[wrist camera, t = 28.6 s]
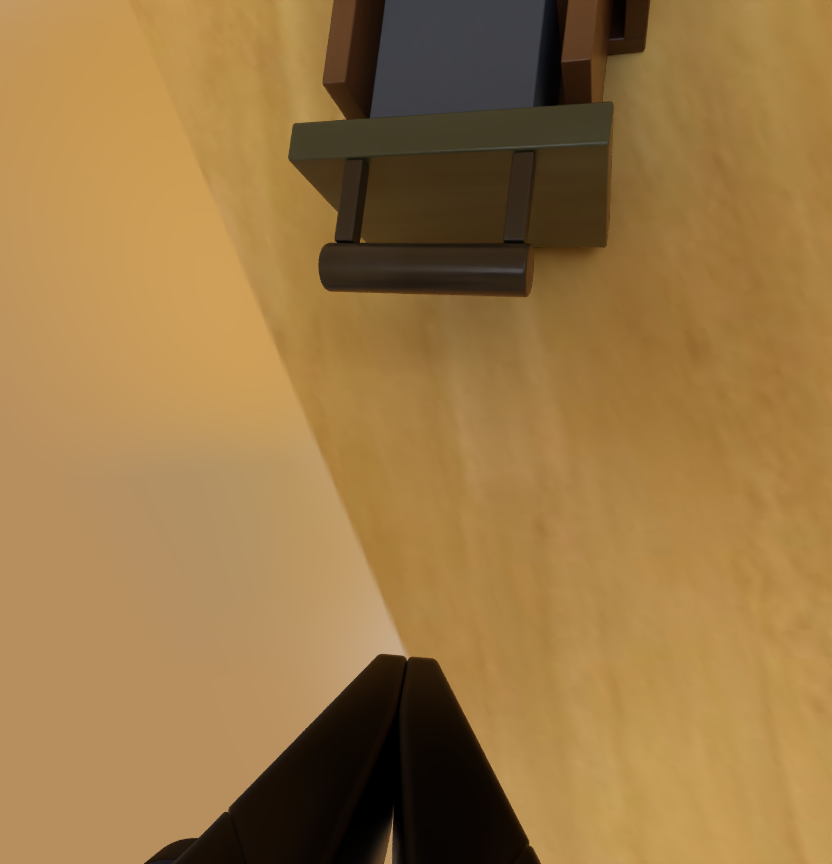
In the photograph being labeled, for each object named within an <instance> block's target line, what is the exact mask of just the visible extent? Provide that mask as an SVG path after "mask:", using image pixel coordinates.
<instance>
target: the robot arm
mask: <svg viewBox="0 0 832 864" xmlns="http://www.w3.org/2000/svg"><path fill="white" fill-rule="evenodd" d="M393 813H394V814H393ZM392 820H393V843H392V845H393V847H392V864H541V863H540V861H539V859H538V857H537V855H536V853H535V851H534V849H533V848H532V847H531V846H529V840H528V838H527V836H526V834H525V832H524V830H523V828H522V826H521V824H520V822H519V820H518V818H517V816H516V814H515V812H514V811H513V809H512V807H511V805H510V803H509V801H508V799H507V797H506V795H505V793H504V791H503V789H502V787H501V785H500V783H499V781H498V779H497V777H496V775H495V773H494V771H493V769H492V767H491V765H490V764H489V762H488V760H487V758H486V756H485V754H484V752H483V750H482V748H481V746H480V744H479V742H478V740H477V738H476V736H475V734H474V732H473V730H472V728H471V726H470V724H469V722H468V720H467V718H466V716H465V715H464V713H463V711H462V709H461V707H460V705H459V703H458V701H457V699H456V697H455V695H454V693H453V691H452V689H451V687H450V685H449V683H448V681H447V679H446V677H445V675H444V673H443V671H442V669H441V668H440V666H439V664H438V662H437V661H436V660H435V659H433V658H422V657H410V658H409V659H408V661H407V659H406V657H404V656H400V655H389V654H380V655H378V656H377V657H376V658H375V659H374V660H373V661H372V662H371V663H370V664H369V665H368V666H367V667H366V668H365V669H364V670H363V671H362V672H361V673H360V674H359V675H358V676H357V677H356V678H355V679H354V680H353V681H352V682H351V683H350V684H349V685H348V686H347V687H346V688H345V689H344V690H343V691H342V692H341V694H340V695H339V696H338V697H337V698H336V699H335V700H334V701H333V702H332V703H331V704H330V705H329V706H328V707H327V708H326V709H325V710H324V711H323V712H322V713H321V714H320V715H319V716H318V717H317V718H316V719H315V720H314V721H313V722H312V723H311V724H310V725H309V726H308V727H307V728H306V729H305V731H303V732H302V734H300V735H299V736H298V738H297V739H296V740H295V741H294V742H293V743H292V744H291V745H290V746H289V747H288V748H287V749H286V750H285V751H284V752H283V753H282V754H281V755H280V756H279V757H278V758H277V759H276V760H275V761H274V762H273V763H272V764H271V765H270V766H269V767H268V768H267V769H266V770H265V771H264V772H263V773H262V774H261V775H260V776H259V777H258V779H256V781H255V782H254V783H253V784H252V785H251V786H250V787H249V788H248V789H247V790H246V791H245V792H244V793H243V794H242V795H241V796H240V797H239V798H238V799H237V800H236V801H235V802H234V803H233V804H232V805H231V806H230V807H229V810H228V812H224V813H223V814H222V815H221V816H220V817H219V818H218V819H217V820H216V821H215V822H214V823H213V824H212V825H211V826H210V827H209V828H208V829H207V830H206V831H205V832H204V833H203V834H202V835H201V836H200V837H199V838H198V839H197V840H196V841H195V842H194V843H193V844H192V845H191V846H190V847H189V848H188V849H187V850H186V851H185V852H184V853H183V854H182V855H181V856H180V857H179V858H178V859H177V860H176V861H175V862H174V863H172V864H384V861H385V857H386V852H387V847H388V843H389V837H390V833H391V827H392Z"/></svg>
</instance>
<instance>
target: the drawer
mask: <svg viewBox="0 0 832 864" xmlns="http://www.w3.org/2000/svg"><path fill="white" fill-rule="evenodd" d="M384 7H385V0H334V3H333V11H332V18H331V25H330V32H329V39H328V46H327V53H326V61H325V68H324V75H323V85H324V87H325V88H326V90H327V91H328V93H329V94H330V96H331V97H332V99H333V100H334V102H335V103H336V104H337V106H338V107H339V109H340V110H341V112H342V113H343V115H344V116H345V118H346V119H347V120H336V121H322V122H307V123H295V124H293V128H292V135H291V142H290V149H289V156H288V158H289V161H290V162H291V163H292V164H293V165H294V166H295V167H296V168H297V169H298V170H299V172H300V173H301V174H302V175H303V176H304V177H305V178H306V179H307V180H308V181H309V182H310V183H311V184H312V185H313V186H314V187H315V188H316V190H317V191H318V192H319V193H320V194H321V195H322V196H323V197H324V198H325V199H326V200H327V201H328V202H329V203H330V204H331V205H332V207H333V208H334V209H335V210H336V211H337V212H338V217H337V225H336V232H335V241H336V242H337V243H328V244H326V245H324V246H323V248H322V250H321V252H320V256H319V276H320V280H321V283H322V285H323V286H324V288H325V289H326V290H328V291H332V292H365V293H399V294H432V295H466V296H499V297H528V296H529V294H530V291H531V287H532V281H533V270H534V252H533V247H606V245H607V238H608V229H609V220H610V196H611V169H612V142H613V115H614V105H613V102H602V99H603V90H604V81H605V72H606V62H607V53H608V44H609V35H610V26H611V17H612V8H613V0H557V9H558V21H559V32H560V44H561V55H562V58H561V66H562V72H561V81H560V90H559V99H558V105H554V106H539V107H525V108H510V109H496V110H481V111H467V112H452V113H438V114H423V115H409V116H394V117H380V118H370V113H371V105H372V98H373V90H374V83H375V75H376V68H377V60H378V52H379V45H380V37H381V30H382V22H383V14H384ZM360 237H362V238H363V239H364V240H365V242H366V243H360Z"/></svg>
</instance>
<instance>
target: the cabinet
mask: <svg viewBox="0 0 832 864" xmlns="http://www.w3.org/2000/svg"><path fill="white" fill-rule="evenodd" d="M649 7H650V0H613V8H612V17H611V26H610V35H609V44H608V53H607V55H610V54H620V53H631V52H642V51H644V50H645V44H646V35H647V25H648V16H649Z"/></svg>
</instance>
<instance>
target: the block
mask: <svg viewBox="0 0 832 864" xmlns="http://www.w3.org/2000/svg"><path fill="white" fill-rule="evenodd" d="M561 58H562V55H561V44H560V32H559V21H558V9H557V0H385V7H384V14H383V22H382V30H381V37H380V45H379V52H378V60H377V68H376V75H375V83H374V90H373V98H372V105H371V113H370V118H380V117H394V116H409V115H423V114H438V113H452V112H467V111H481V110H496V109H510V108H525V107H539V106H554V105H558V99H559V90H560V81H561V72H562V66H561Z"/></svg>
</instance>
